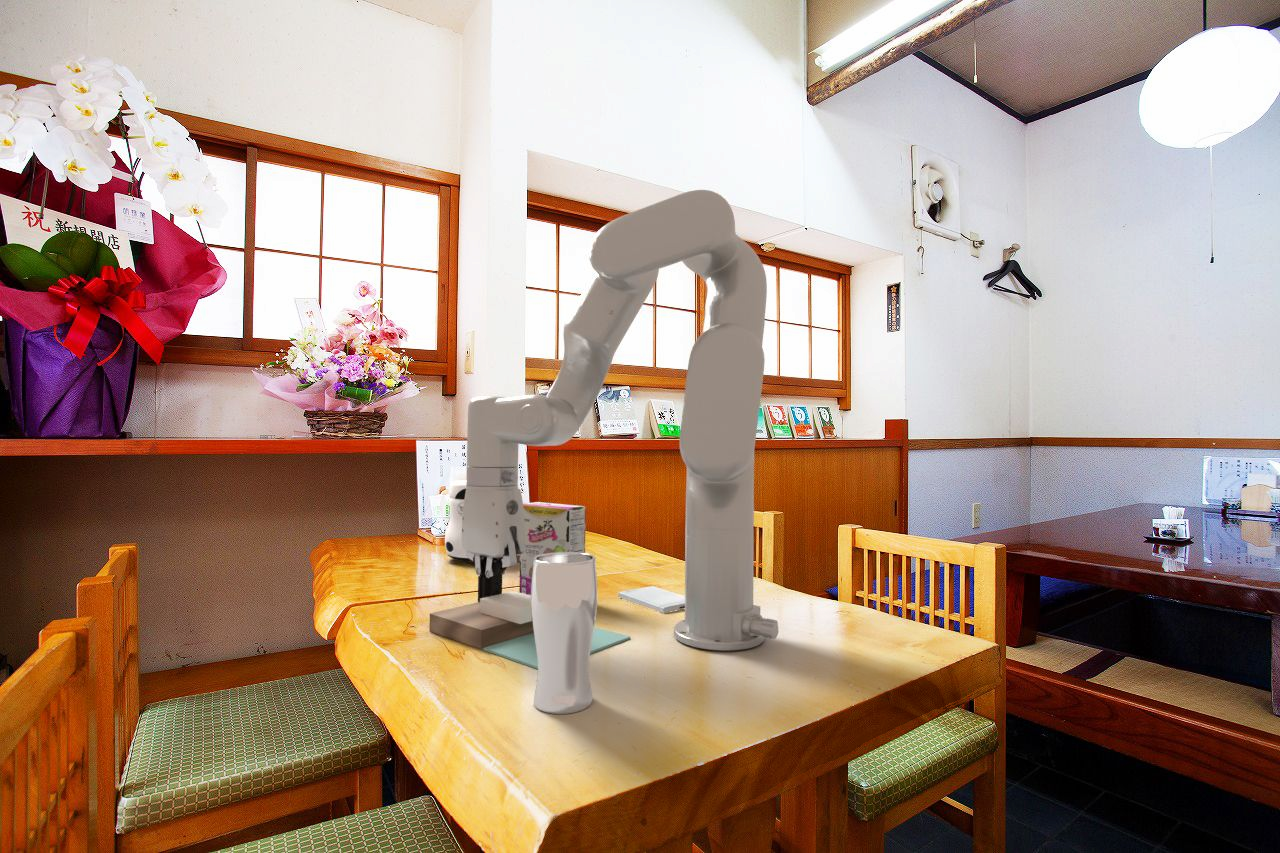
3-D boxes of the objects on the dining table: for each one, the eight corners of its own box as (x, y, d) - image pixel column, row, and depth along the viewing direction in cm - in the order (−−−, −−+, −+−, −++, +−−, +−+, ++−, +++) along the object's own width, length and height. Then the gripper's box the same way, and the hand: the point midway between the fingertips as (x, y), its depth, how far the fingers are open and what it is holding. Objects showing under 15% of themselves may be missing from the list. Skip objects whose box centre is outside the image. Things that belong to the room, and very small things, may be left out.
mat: (630, 638, 85) (630, 636, 85) (543, 671, 73) (543, 668, 73) (571, 622, 92) (571, 620, 92) (483, 650, 80) (483, 647, 80)
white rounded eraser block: (553, 614, 87) (553, 600, 87) (520, 624, 83) (520, 609, 83) (512, 604, 93) (513, 591, 93) (479, 612, 88) (479, 598, 88)
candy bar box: (517, 598, 107) (518, 503, 107) (536, 592, 111) (537, 501, 112) (567, 608, 101) (568, 507, 101) (586, 601, 105) (587, 505, 106)
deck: (569, 622, 93) (569, 605, 93) (481, 649, 80) (481, 629, 80) (517, 608, 100) (517, 593, 100) (429, 631, 88) (429, 613, 88)
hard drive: (618, 591, 108) (663, 606, 98) (654, 585, 113) (701, 599, 103) (618, 601, 108) (663, 617, 98) (654, 594, 113) (701, 609, 103)
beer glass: (532, 689, 67) (534, 551, 68) (596, 687, 68) (597, 551, 68) (526, 717, 60) (527, 563, 61) (597, 715, 61) (598, 563, 61)
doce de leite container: (481, 570, 130) (482, 485, 131) (428, 561, 140) (429, 481, 140) (537, 557, 145) (538, 481, 145) (485, 550, 154) (486, 478, 155)
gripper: (544, 480, 91) (542, 606, 90) (482, 476, 100) (480, 589, 100) (503, 482, 85) (501, 616, 84) (441, 477, 94) (439, 598, 94)
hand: (489, 601), depth 92 cm, fingers closed
